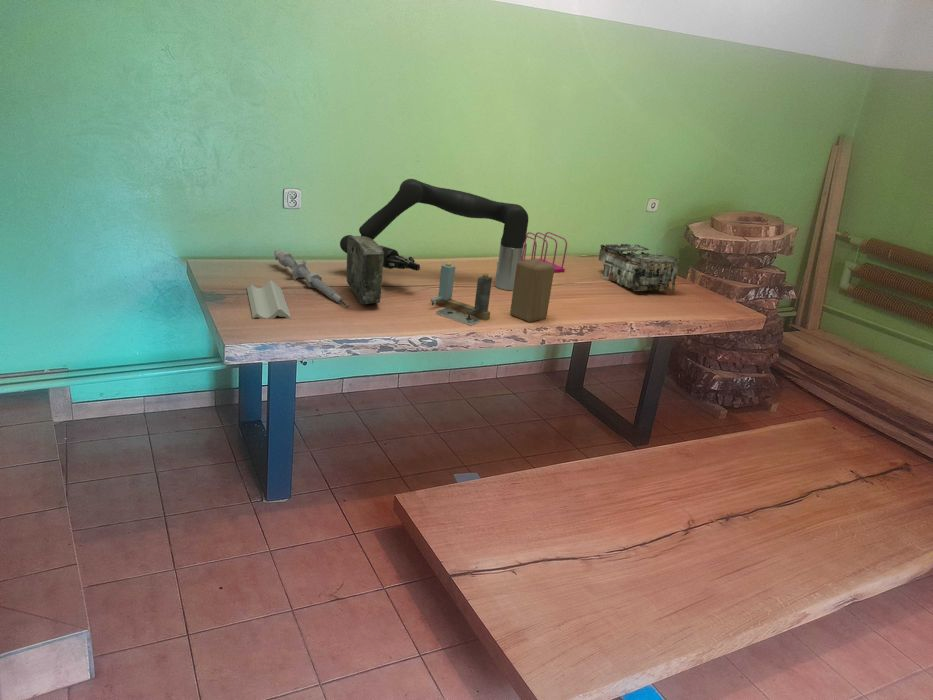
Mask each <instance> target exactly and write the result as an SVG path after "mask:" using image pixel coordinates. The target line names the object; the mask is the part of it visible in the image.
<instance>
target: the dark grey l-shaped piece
mask: <svg viewBox="0 0 933 700" xmlns="http://www.w3.org/2000/svg"><path fill="white" fill-rule="evenodd" d="M492 282H493V278H492V277H490V276H489V274H488V273H486V272H485V273H482V275H481V276H478V277H477V283H476V291H475V292H476V293H475V300H474V305H470V304H467V303H465V302H461V301H458V300H455V299H454V298H453V299H448V300H444V299H442V300H438V301H435V302H434V305H438V306H441V307H444V308H448V309H451V310H454V311H457V312H458V311H459V312H460V313H461V312H462V313H463V314H464V313H465V314H466V315H467V314H468V318H470V315H471V317H473V316H474V318H476V317H477V319H480V320H481V321H482V320H483V321H486V320H489V319H490V318H491V311H489V305H490V298H491V297H490V296H491V289H492ZM437 297H438V296H436V297H435V298H437Z"/></svg>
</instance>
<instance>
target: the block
mask: <svg viewBox="0 0 933 700" xmlns="http://www.w3.org/2000/svg"><path fill="white" fill-rule="evenodd" d="M536 259H537V258H535V259H533V260H531V259H525V260H526V261H519V262H518V263H517V267H516V274H515V281H514V288H513V290H512V297H511V304H510V311H509V312H510V315H511V316H513V317H516V318H518V319H521V320H523V321H525V322H528V323H533V322H537V321H540V320H545V319H546V318H547V317H548V310H549V306H550V305H549V304H550V298H551V293H552V292H551V291H552V286H553V280H554V274H555V272H554V266H553V265H551V264H548V263H545V262H542V261H539V260H536Z"/></svg>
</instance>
